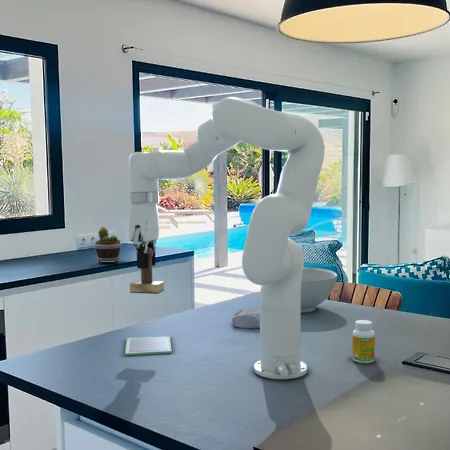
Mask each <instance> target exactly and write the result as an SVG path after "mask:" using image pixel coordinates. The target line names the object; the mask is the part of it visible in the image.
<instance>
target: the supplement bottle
mask: <svg viewBox="0 0 450 450" xmlns="http://www.w3.org/2000/svg"><path fill="white" fill-rule="evenodd" d="M354 324H355V329H354V330H353V331H352V337H351V338H352V340H351V341H352V344H351V346H352V348H351V349H352V350H351V351H352V354H351V358H352V361H354V362H356V363H359V364H371V363H373V362H374V361H375V359H376V358H375V357H376V355H375V354H376V352H375V351H376V349H375V347H376V346H375V345H376V342H375V341H376V333H375V331H374V330H373V329H372V328H373V322H372V321H371V320H367V319H359V320H358V319H357V320H356V321H355V323H354Z"/></svg>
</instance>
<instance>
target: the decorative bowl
mask: <svg viewBox="0 0 450 450" xmlns="http://www.w3.org/2000/svg"><path fill="white" fill-rule="evenodd" d="M337 279H338V274H337V273H336V271H335V272H334V271H332V270H329V269H324V268H317V267H304V268H303V275H302V282H301V313H303V314H304V313H311V312H314V311H315V310H316V309H317V306H319V305H321V304H322V303H324V301H325V300H327V299H328V298H329V296H331V293H332V292H333V290H334V288H335V285H336V283H337Z"/></svg>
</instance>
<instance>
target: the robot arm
mask: <svg viewBox="0 0 450 450" xmlns="http://www.w3.org/2000/svg"><path fill="white" fill-rule="evenodd" d="M196 139H197V140H196V141H195V142H194V143H191V144H190V145H189V146H186V147H185V148H182V149H180V150H176V149H175V150H171V149H169V150H167V149H159V150H158V149H157V150H152V151H135V152H132V153H130V155H129V157H128V159H129V160H128V164H129V165H128V166H129V167H128V168H129V203H130V208H129V219H128V220H129V223H128V224H129V225H128V238H129V239H128V240H129V241H130V242H131V243H132V245H133V246H134V248H135V253H136V267H137V269H141V268H146V269H147V268H149V253H147V247H150V248H151V249H152V251H153V256H152V267H154V266H156V265H157V263H156V262H157V261H156V259H157V258H156V250H157V246H156V244H157V241H158V238H159V236H160V219H159V209H158V205H159V204H160V194H159V193H160V192H159V190H160V189H159V180H162V181H164V180H166V181H167V180H168V181H169V180H183V179H187V178H189V177H192V176H194V175H195V174H198V173H199V172H201V171H202V170H204V169H206V168H208V167H209V166H210V165H211V164H212V163H213V162H214V161H215V160H216V159H217V157H218V156H219V155H221V154H223V153H224V152H226V151H228V150H230V149H232V148H233V147H235V146H237V145H239V144H241V143H242V142H243V143H245V144H249V145H251V146H254V147H257V148H260V149H263V150H268V151H272V152H273V151H274V152H275V151H277V152H287V154H288V155H287V159H286V161H285V163H284V165H283V167H282V170H281V172H280V176H279V182H278V185H277V188H276V192H275V193H273V194H269V195H266V196H264V197H263V198H261V199H260V200H259V201H258V202H257V203H256V204H255V207H254V208H253V210H252V213H251V216H250V220H249V224H248V228H247V233H246V237H245V242H244V247H243V252H242V256H241V257H242V258H241V267H242V271H243V274H244V276H245V277H246V279H248V281H250V282H251V283H252V284H255V285H259V286H260V292H259V309H260V328H259V350H260V351H259V356H260V357H259V360H257V361H256V362H255V363H254V364H253V371H254V373H255V374H256V375H257V376H260V377H262V378H266V379H271V380H292V379H297V378H301V377H304V376H305V375H306V374H307V373H308V365H307V364H306V363H305V362H303V361H301V359H302V356H301V355H302V353H301V351H302V350H301V349H302V339H301V338H302V336H301V335H302V334H301V333H302V331H301V330H302V329H301V326H302V325H301V324H302V323H301V320H302V319H301V282H302V275H303V268H305V267H304V266H305V257H304V253H303V250H302V248H301V246H300V245H299V243H297V242H296V241H295V240H293V239H291V238H289V237H290V236H291V235H292V236H293V235H296V234H299V233H301V232H303V230H305V229H306V227H307V226H308V224H309V221H310V218H311V214H312V208H313V205H314V200H315V197H316V192H317V188H318V183H319V179H320V175H321V171H322V167H323V164H324V158H325V141H324V138H323V135H322V133H321V131H320V130H319V128H318V127H317V126H316V125H315V124H314V123H313V122H312V121H311V120H309V119H308V118H306V117H304V116H301V114H296V113H291V112H285V111H279V110H275V109H271V108H268V107H265V106H261V105H259V104H258V103H256V102H255V101H253V100H250V99H246V98H241V97H235V96H229V97H228V96H227V97H225V98H223V99H221V100H220V101H218V102H217V103H216V104H215V105H214V107H213V109H212V112H211V118H210V119H208V120H206V121H205V122H203V123H201V124H199V126H197V128H196Z"/></svg>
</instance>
